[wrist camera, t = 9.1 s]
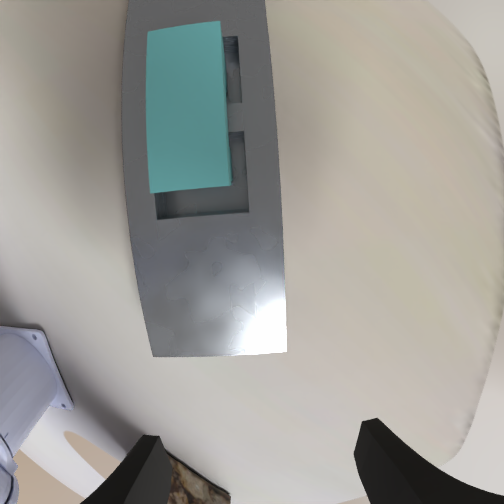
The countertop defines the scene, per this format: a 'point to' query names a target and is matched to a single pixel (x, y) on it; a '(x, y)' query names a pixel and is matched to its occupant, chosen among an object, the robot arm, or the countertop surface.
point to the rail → (209, 199)
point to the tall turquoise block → (187, 108)
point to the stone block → (192, 488)
